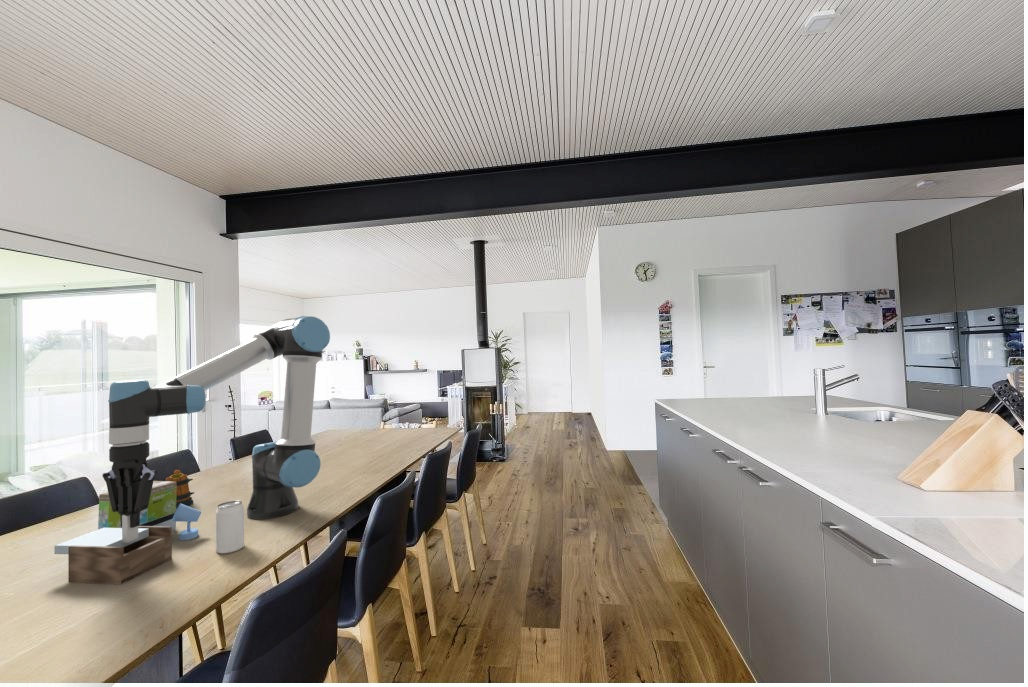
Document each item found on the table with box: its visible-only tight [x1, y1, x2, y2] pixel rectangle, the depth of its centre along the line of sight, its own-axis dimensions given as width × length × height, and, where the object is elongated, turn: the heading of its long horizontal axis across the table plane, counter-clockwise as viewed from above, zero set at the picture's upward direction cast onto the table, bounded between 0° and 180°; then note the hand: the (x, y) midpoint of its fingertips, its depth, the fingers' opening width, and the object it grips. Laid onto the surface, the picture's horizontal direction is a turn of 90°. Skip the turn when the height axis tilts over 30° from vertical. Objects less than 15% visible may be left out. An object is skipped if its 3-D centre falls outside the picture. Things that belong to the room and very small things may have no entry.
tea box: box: [97, 480, 177, 531], centre depth 130 cm, size 15×10×15 cm, turn 168°
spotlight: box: [172, 503, 202, 541], centre depth 129 cm, size 5×10×7 cm
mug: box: [165, 469, 195, 510], centre depth 160 cm, size 13×10×12 cm
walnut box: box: [67, 526, 173, 585], centre depth 110 cm, size 14×13×8 cm
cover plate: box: [53, 528, 149, 555], centre depth 110 cm, size 13×11×2 cm
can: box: [215, 500, 245, 555], centre depth 120 cm, size 6×6×12 cm
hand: (130, 540), depth 109 cm, fingers closed
